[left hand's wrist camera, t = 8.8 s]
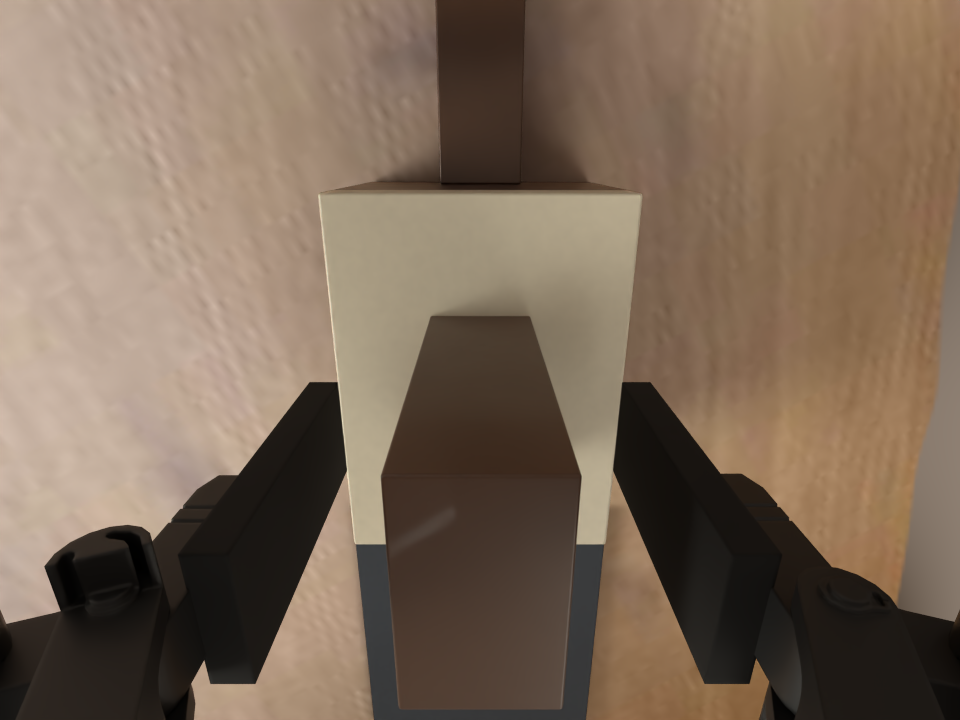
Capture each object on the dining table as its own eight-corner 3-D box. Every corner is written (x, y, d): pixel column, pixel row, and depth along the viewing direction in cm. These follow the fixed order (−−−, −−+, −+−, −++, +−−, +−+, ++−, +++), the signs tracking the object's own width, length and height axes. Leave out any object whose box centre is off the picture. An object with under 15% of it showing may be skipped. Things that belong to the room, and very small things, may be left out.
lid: (597, 518, 20) (699, 829, 11) (362, 518, 20) (261, 829, 11) (629, 190, 16) (844, 233, 6) (331, 189, 16) (117, 233, 6)
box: (571, 440, 26) (603, 536, 19) (388, 440, 26) (356, 536, 19) (618, -205, 17) (703, -430, 11) (343, -205, 17) (258, -430, 11)
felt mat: (583, 722, 33) (585, 728, 32) (376, 722, 33) (374, 728, 32) (605, 508, 27) (607, 513, 27) (354, 508, 27) (352, 513, 27)
